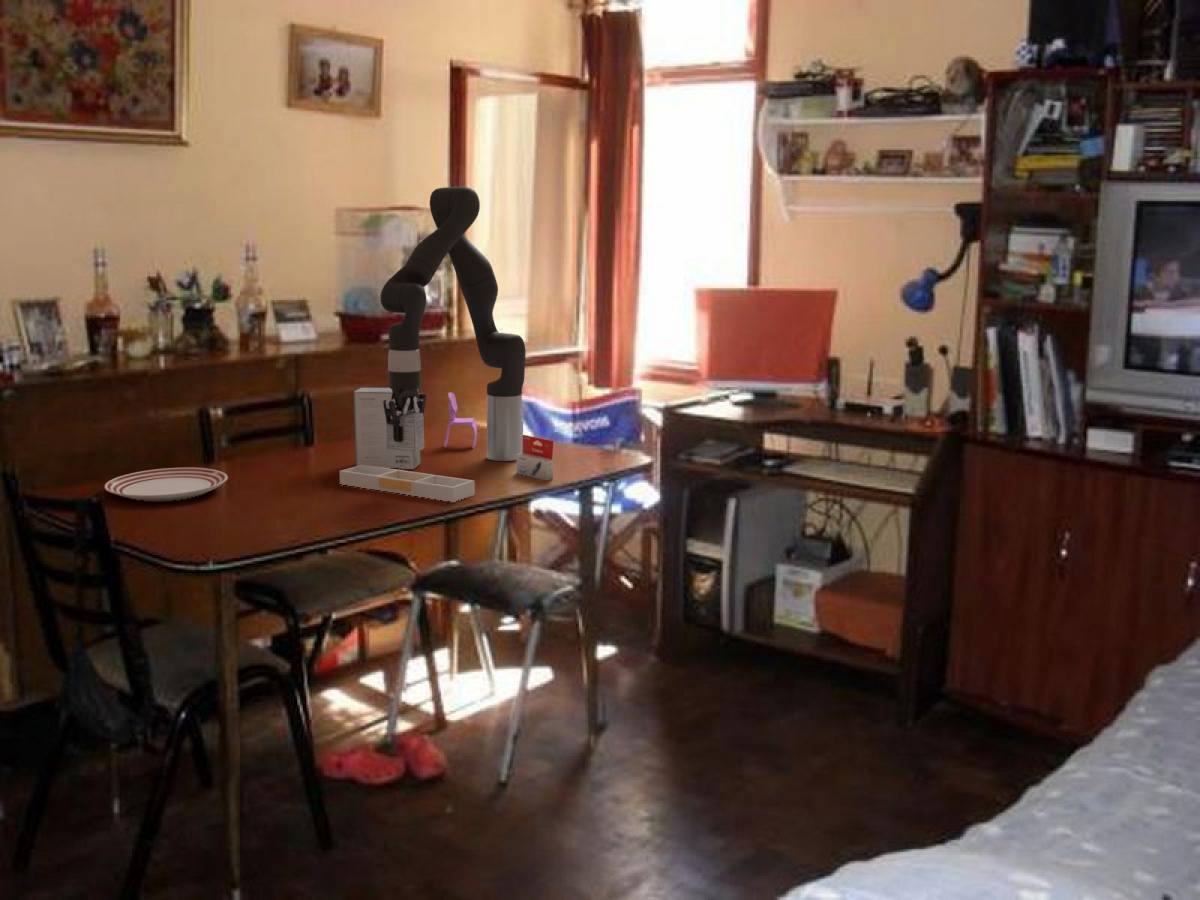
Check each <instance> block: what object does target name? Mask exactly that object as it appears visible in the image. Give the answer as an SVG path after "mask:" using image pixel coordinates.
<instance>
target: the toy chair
mask: <svg viewBox="0 0 1200 900" xmlns="http://www.w3.org/2000/svg"><path fill="white" fill-rule="evenodd" d="M447 396H448V399H449V402H448V403H447V406H448V412H449V414H448V415H449V418H450V419H449V421H448V425H447V427H446V432H445V439H444V442H443V447H445V448H446V446H447V445H448V440H449V433H450V429H451V426H466V427H471V428H472V430H473V442H472V446H471V449H472V448H473V449H474V448H475V446H476V443H477V437H478V436H477V435H478V427H477V423H476V421H475V417H469V418H467V417H466V418H462V417H461V418H459V417H456V413H457V412H458V404H457V398H456V395H455V394H454V393H453V392H452V391H451V392H448V393H447ZM446 444H447V445H446ZM443 447H442V448H443Z"/></svg>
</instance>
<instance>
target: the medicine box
mask: <svg viewBox="0 0 1200 900" xmlns="http://www.w3.org/2000/svg"><path fill="white" fill-rule="evenodd" d="M397 413H401V412H398V411H397ZM390 417H391V419H392V416H390ZM397 419H398V421H399V416H397ZM424 421H425V419H424V416H423V413H420V412H419V413H412V412H407V414H406V417H404V420H403V425H402V426H403V441H402V442H395V441H394V438H393V426H392V425H390V424H387V422H386V435H387V449H388V450H401V451H413V452H417V451H420V452H421V451H422V450H425V430H424V429H425V428H424V427H425V424H424V423H425V422H424Z"/></svg>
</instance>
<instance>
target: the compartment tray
mask: <svg viewBox="0 0 1200 900" xmlns="http://www.w3.org/2000/svg"><path fill="white" fill-rule="evenodd" d="M340 484H342V485H341V486H343V485H348V486H347V487H349V486H355V487H354V488H356V487H361V488H360V489H362V488H367V489H366V490H369V489H375V490H381V491H380V492H382V491H388V492H394V493H393V494H395V493H400V494H399V495H401V494H406V495H405V496H408V495H411V496H410V497H414V496H418V497H417V498H421V497H425V498H424V499H427V498H430V499H429V500H434V499H436V500H435V501H440V500H442V501H441V502H447V501H450V502H449V503H453V502H454V503H457V502H459V501H462V500H465V499H468V498H471V497H473V496H476V495H475V493H476V492H475V489H476V487H475V480H472V479H468V478H467V479H466V478H460V477H459V478H458V477H453V476H452V477H451V476H444V475H438V474H431V473H425V472H417V471H410V470H409V471H408V470H405V469H390V468H383V467H376V466H369V465H359V466H356V465H355V466H353V467H349V468H345V469H342V470H341V469H340V470H339V485H340ZM375 490H374V491H375ZM388 492H387V493H388ZM464 498H465V499H464ZM461 499H462V500H461ZM458 500H459V501H458ZM456 501H457V502H456Z"/></svg>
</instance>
